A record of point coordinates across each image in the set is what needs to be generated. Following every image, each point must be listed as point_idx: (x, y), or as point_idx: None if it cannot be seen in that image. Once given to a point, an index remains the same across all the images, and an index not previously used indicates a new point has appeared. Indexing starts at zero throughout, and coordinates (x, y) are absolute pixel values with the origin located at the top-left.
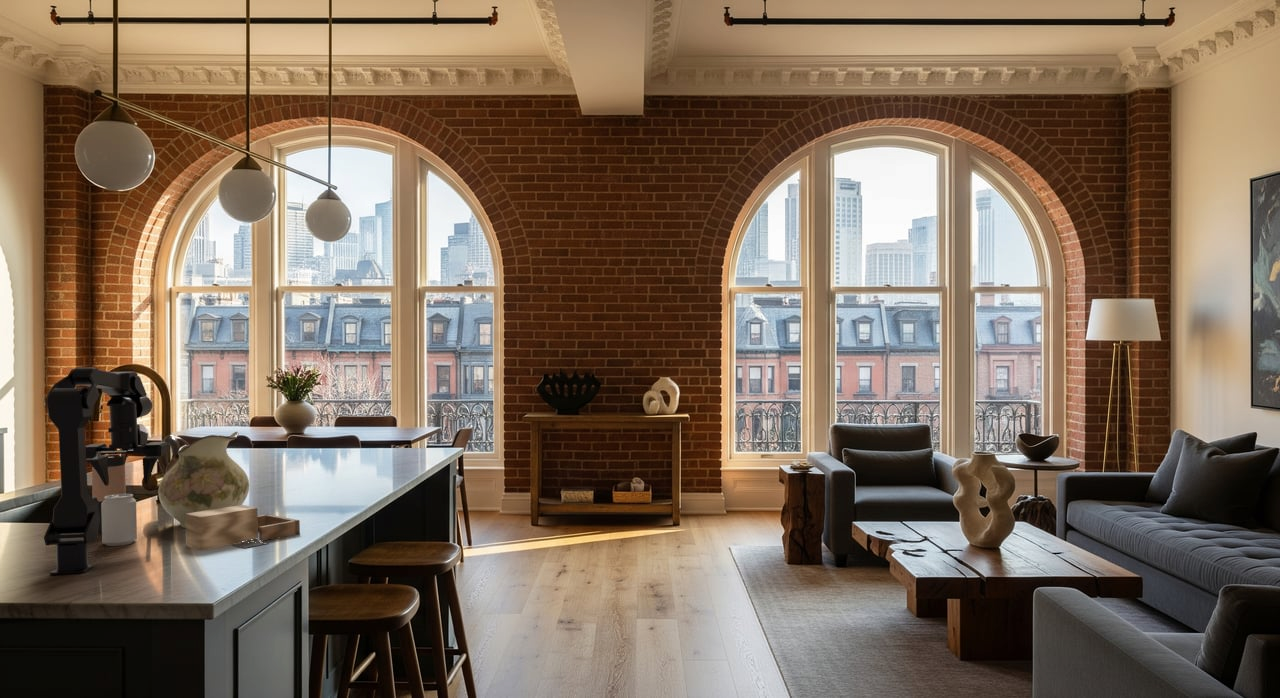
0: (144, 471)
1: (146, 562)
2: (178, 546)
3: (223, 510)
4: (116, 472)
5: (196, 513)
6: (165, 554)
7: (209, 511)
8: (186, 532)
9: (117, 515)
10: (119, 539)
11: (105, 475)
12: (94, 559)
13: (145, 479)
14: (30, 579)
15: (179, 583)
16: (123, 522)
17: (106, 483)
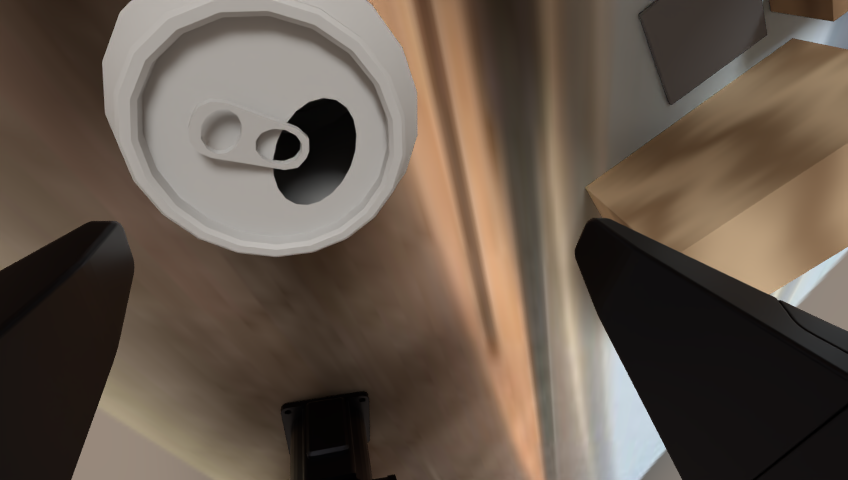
0: (662, 417)
1: (492, 362)
2: (561, 190)
3: (817, 217)
4: None
5: (708, 263)
6: (529, 292)
7: (765, 228)
8: (617, 218)
9: (317, 196)
10: (319, 133)
11: (66, 395)
12: (324, 322)
13: (609, 306)
14: (259, 469)
15: (568, 472)
16: (344, 161)
17: (126, 291)
